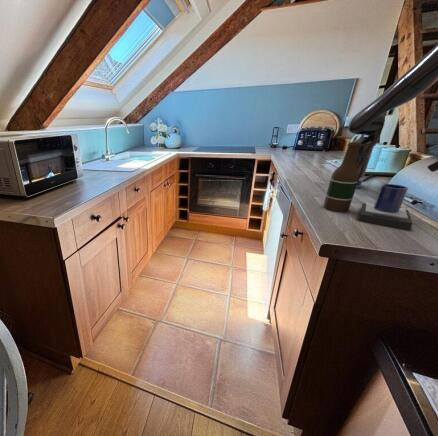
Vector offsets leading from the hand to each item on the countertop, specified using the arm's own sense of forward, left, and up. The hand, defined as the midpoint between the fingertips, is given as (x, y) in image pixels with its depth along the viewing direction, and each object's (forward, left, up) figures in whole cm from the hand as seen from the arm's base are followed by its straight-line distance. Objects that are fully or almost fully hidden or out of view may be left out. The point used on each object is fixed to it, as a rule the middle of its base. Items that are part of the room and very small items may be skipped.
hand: (435, 172), depth 73 cm
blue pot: (+1, -7, -13) cm, 15 cm away
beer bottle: (0, -21, -17) cm, 26 cm away
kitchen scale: (+2, -7, -16) cm, 18 cm away
